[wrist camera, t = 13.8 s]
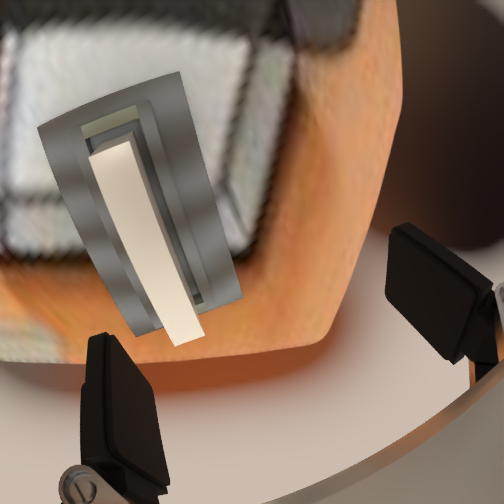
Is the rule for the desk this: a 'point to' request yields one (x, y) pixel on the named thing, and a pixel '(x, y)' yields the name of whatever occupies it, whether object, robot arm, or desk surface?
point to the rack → (164, 187)
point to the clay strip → (145, 235)
